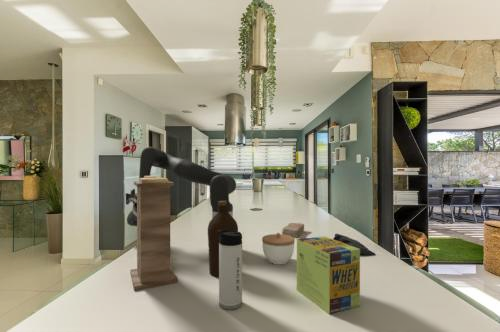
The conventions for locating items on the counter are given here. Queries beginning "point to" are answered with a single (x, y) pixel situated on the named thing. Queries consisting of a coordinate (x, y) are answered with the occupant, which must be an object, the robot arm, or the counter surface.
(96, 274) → the counter surface
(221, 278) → the travel mug
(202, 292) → the counter surface
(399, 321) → the counter surface
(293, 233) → the brick
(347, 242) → the dark slate chunk
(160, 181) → the paddle
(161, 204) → the stand
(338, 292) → the protein box
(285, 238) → the lidded bowl
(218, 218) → the olive oil
